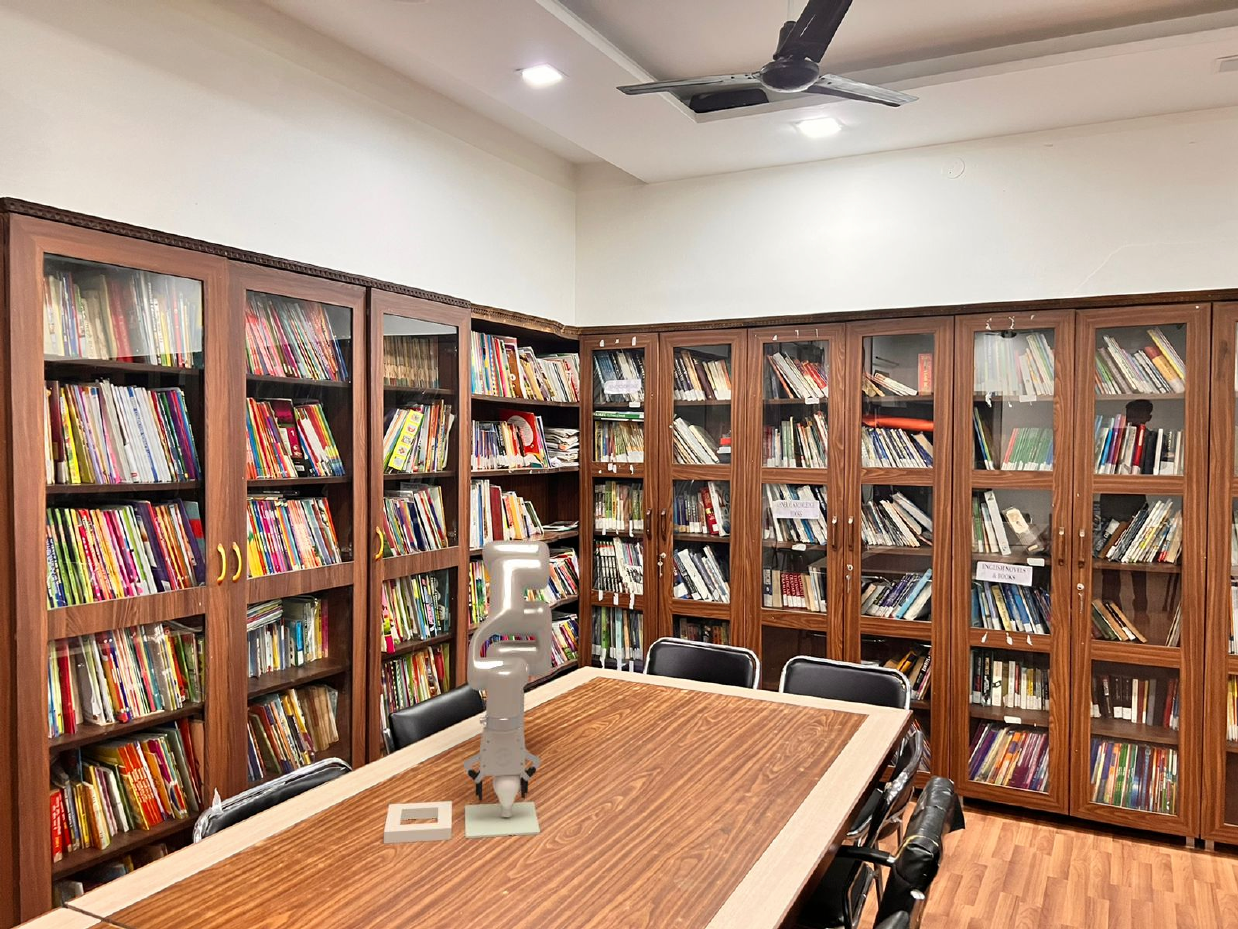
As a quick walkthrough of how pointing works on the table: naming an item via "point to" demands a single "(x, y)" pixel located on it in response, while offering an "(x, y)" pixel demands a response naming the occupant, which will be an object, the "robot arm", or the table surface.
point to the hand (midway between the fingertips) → (501, 797)
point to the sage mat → (500, 820)
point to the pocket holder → (418, 831)
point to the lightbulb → (506, 792)
